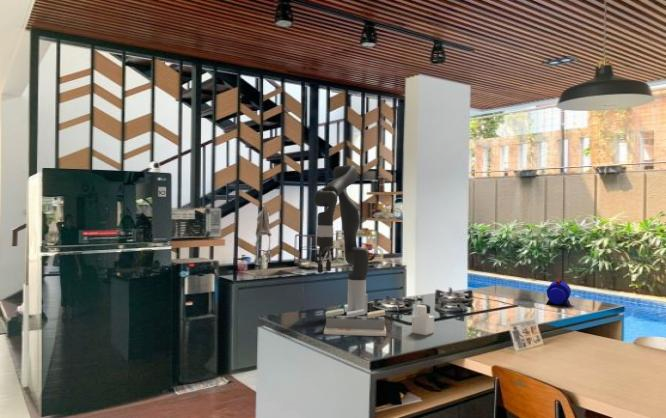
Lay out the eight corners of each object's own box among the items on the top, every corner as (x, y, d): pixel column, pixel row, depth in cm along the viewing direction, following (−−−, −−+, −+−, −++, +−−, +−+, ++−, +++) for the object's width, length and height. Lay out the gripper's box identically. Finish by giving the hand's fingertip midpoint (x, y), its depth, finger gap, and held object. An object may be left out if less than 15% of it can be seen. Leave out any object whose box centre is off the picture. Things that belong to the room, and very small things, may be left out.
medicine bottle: (419, 330, 226) (420, 302, 226) (434, 332, 221) (434, 304, 221) (411, 332, 220) (411, 304, 220) (426, 335, 216) (426, 307, 216)
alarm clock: (571, 304, 298) (571, 278, 298) (568, 307, 287) (568, 280, 287) (548, 302, 304) (549, 276, 304) (544, 305, 294) (545, 278, 294)
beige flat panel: (385, 314, 224) (384, 309, 224) (386, 317, 219) (384, 311, 219) (368, 318, 225) (367, 312, 225) (368, 320, 220) (367, 314, 220)
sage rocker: (344, 313, 226) (343, 308, 226) (343, 316, 221) (342, 310, 221) (327, 316, 226) (326, 311, 226) (326, 319, 221) (325, 313, 221)
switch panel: (385, 329, 226) (385, 316, 226) (386, 336, 213) (386, 322, 213) (326, 327, 228) (326, 314, 228) (323, 334, 215) (324, 321, 215)
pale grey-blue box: (364, 314, 225) (363, 308, 225) (364, 316, 220) (363, 311, 220) (347, 317, 225) (346, 312, 226) (347, 319, 220) (346, 314, 221)
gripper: (324, 234, 238) (323, 269, 237) (310, 235, 225) (309, 273, 224) (339, 235, 234) (338, 270, 234) (325, 236, 221) (325, 274, 221)
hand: (324, 271), depth 229 cm, fingers open, 8 cm apart
